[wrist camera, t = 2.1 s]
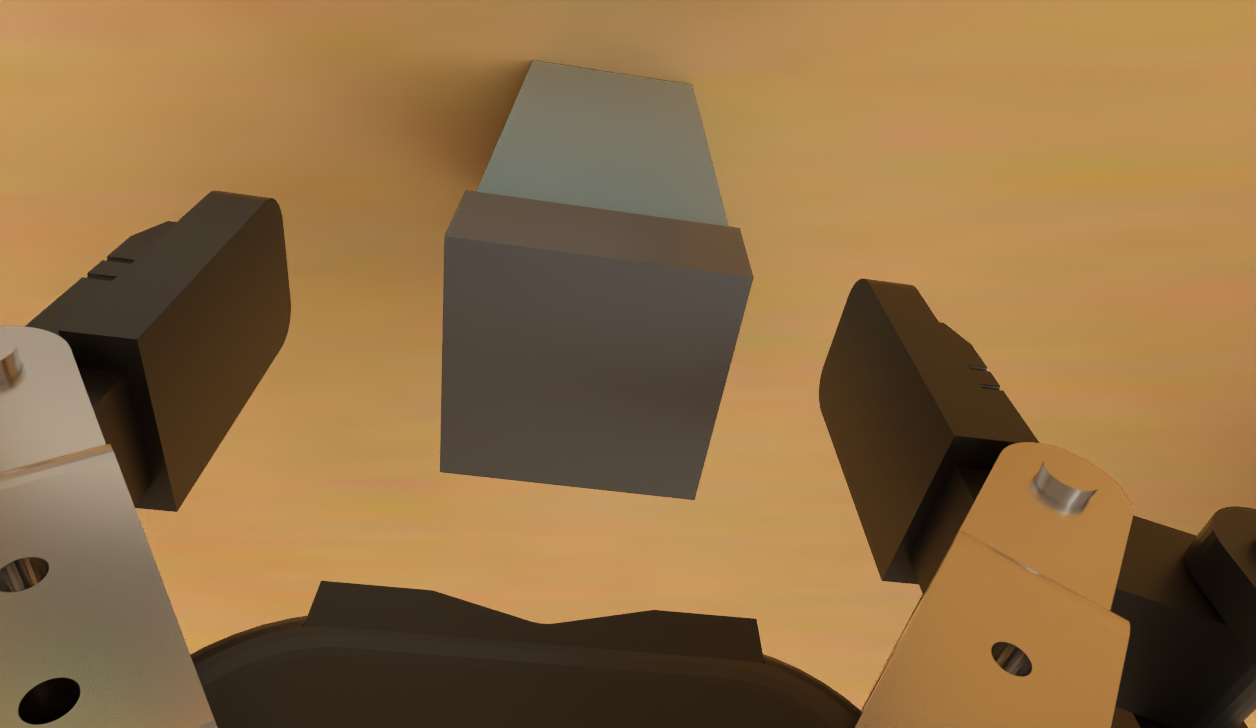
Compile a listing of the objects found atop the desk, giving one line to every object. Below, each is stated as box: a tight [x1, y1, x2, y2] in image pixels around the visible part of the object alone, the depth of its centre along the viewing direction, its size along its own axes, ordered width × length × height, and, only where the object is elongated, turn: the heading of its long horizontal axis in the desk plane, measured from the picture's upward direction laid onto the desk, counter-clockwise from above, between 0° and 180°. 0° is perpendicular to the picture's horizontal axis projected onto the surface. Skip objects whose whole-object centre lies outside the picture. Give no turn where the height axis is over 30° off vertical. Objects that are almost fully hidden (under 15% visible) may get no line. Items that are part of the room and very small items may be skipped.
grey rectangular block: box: [440, 60, 753, 500], centre depth 14 cm, size 4×4×9 cm
